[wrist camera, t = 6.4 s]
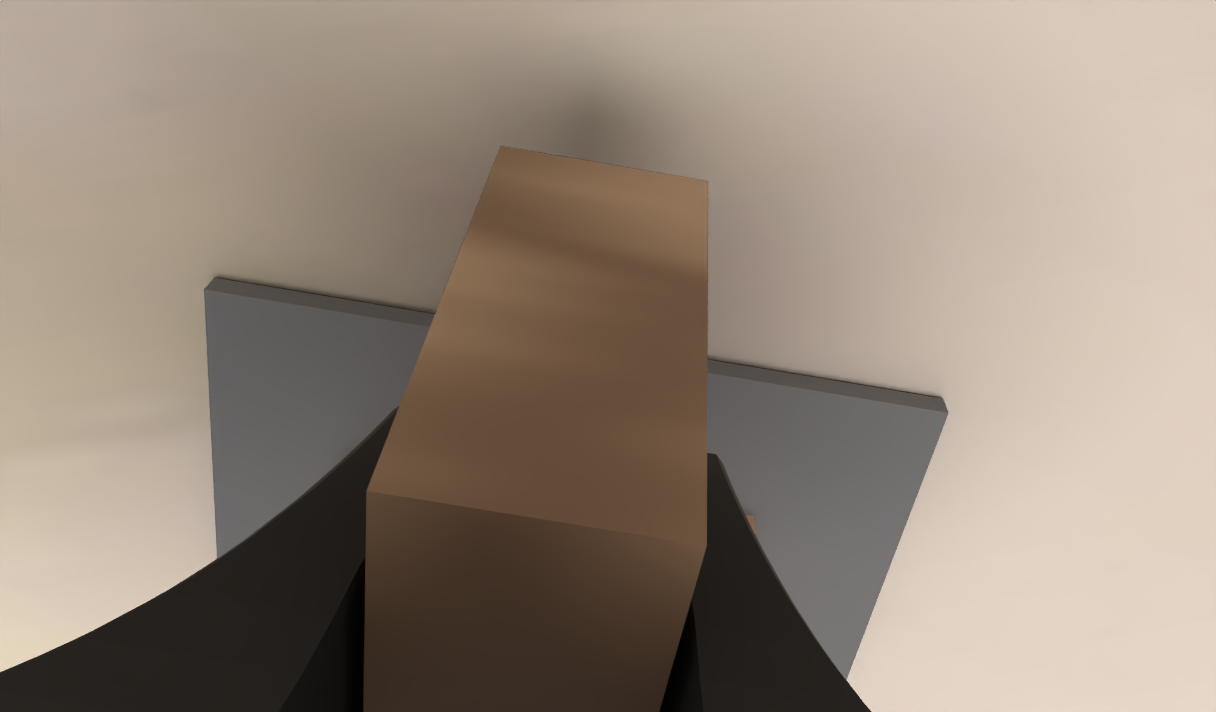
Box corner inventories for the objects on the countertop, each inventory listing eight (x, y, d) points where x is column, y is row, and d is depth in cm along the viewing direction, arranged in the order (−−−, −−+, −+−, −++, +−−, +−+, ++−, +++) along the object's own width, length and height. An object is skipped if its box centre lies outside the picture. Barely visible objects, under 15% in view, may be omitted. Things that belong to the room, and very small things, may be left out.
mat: (235, 763, 27) (227, 780, 26) (214, 277, 20) (204, 289, 19) (773, 847, 27) (775, 865, 27) (943, 398, 20) (948, 413, 20)
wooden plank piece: (451, 672, 18) (358, 1058, 13) (500, 146, 12) (365, 491, 8) (593, 694, 18) (551, 1087, 13) (707, 180, 13) (706, 547, 8)
